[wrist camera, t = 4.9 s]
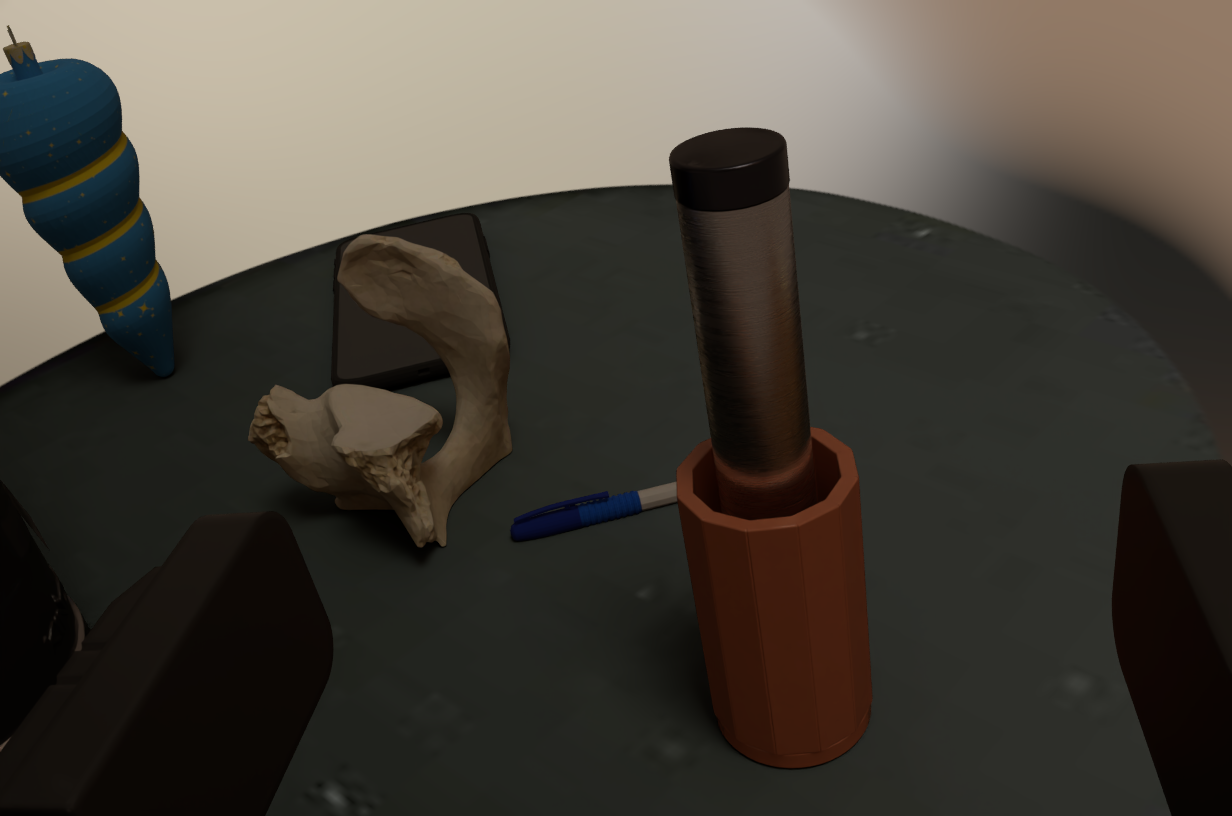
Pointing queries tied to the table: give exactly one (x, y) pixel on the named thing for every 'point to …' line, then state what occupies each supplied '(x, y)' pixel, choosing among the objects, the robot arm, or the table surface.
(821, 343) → the table surface
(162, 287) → the ornament
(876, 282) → the table surface
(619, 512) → the ballpoint pen
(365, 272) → the bone
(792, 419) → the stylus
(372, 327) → the smartphone
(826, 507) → the pen cup
